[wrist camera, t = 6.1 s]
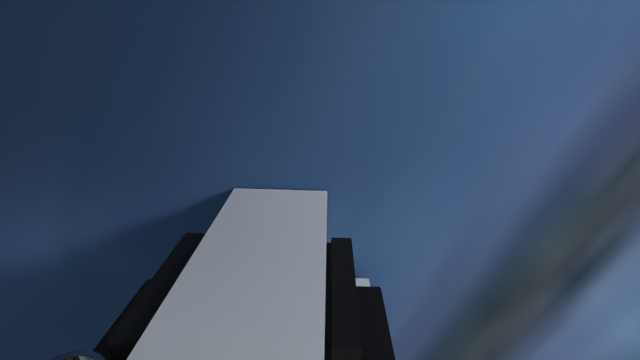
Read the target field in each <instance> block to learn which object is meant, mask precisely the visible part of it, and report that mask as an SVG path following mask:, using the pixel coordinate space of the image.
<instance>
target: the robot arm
mask: <svg viewBox="0 0 640 360" xmlns="http://www.w3.org/2000/svg"><path fill="white" fill-rule="evenodd" d="M204 236H205V234H199V233H186V234H185V235H184V236H183V237H182V239H181V240H180V241H179V243H178V244H177V245H176V247H175V248H174V250H173V251H172V252H171V254H170V255H169V256H168V258H167V259H166V260H165V262H164V263H163V264H162V266H161V267H160V268H159V270H158V271H157V272H156V274H155V275H154V276H153V278H152V279H150V280H147V281H146V282H145V283H144V284H143V285H142V287H141V288H140V289H139V291H138V292H137V293H136V295H135V296H134V297H133V299H132V300H131V301H130V303H129V304H128V305H127V307H126V308H125V309H124V310H123V312H122V313H121V314H120V316H119V317H118V318H117V320H116V321H115V322H114V324H113V325H112V326H111V328H110V329H109V330H108V332H107V333H106V334H105V335H104V337H103V338H102V339H101V341H100V342H99V343H98V345H97V346H96V347H95V349H94V350H93V351H88V350H79V351H72V352H68V353H65V354H62V355H59V356H56V357H54V358H52V359H50V360H127V358H128V356H129V355H130V353H131V352H132V350H133V349H134V347H135V345H136V344H137V342H138V341H139V339H140V337H141V336H142V334H143V333H144V331H145V329H146V328H147V326H148V325H149V323H150V322H151V320H152V318H153V317H154V315H155V314H156V312H157V310H158V309H159V307H160V306H161V304H162V302H163V301H164V299H165V298H166V296H167V295H168V293H169V291H170V290H171V288H172V287H173V285H174V283H175V282H176V280H177V279H178V277H179V275H180V274H181V272H182V271H183V269H184V268H185V266H186V264H187V263H188V261H189V260H190V258H191V256H192V255H193V253H194V252H195V250H196V249H197V247H198V245H199V244H200V242H201V241H202V239H203V237H204ZM324 360H395V356H394V351H393V346H392V341H391V336H390V331H389V327H388V322H387V317H386V312H385V307H384V302H383V297H382V292H381V288H380V287H369V286H356V279H355V270H354V260H353V250H352V241H351V238H332V239H331V243H326V293H325V348H324Z"/></svg>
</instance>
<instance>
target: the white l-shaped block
mask: <svg viewBox="0 0 640 360" xmlns="http://www.w3.org/2000/svg"><path fill="white" fill-rule="evenodd" d="M326 239H327V191H309V190H276V189H242V188H234V190H233V191H232V193H231V195H230V196H229V198H228V199H227V201H226V202H225V204H224V206H223V207H222V209H221V210H220V212H219V214H218V215H217V217H216V218H215V220H214V222H213V223H212V225H211V226H210V228H209V229H208V231H207V233H206V234H205V236H204V237H203V239H202V241H201V242H200V244H199V245H198V247H197V249H196V250H195V252H194V253H193V255H192V256H191V258H190V260H189V261H188V263H187V264H186V266H185V268H184V269H183V271H182V272H181V274H180V275H179V277H178V279H177V280H176V282H175V283H174V285H173V287H172V288H171V290H170V291H169V293H168V295H167V296H166V298H165V299H164V301H163V302H162V304H161V306H160V307H159V309H158V310H157V312H156V314H155V315H154V317H153V318H152V320H151V322H150V323H149V325H148V326H147V328H146V329H145V331H144V333H143V334H142V336H141V337H140V339H139V341H138V342H137V344H136V345H135V347H134V349H133V350H132V352H131V353H130V355H129V356H128V358H127V360H324V348H325V293H326ZM355 279H356V286H369V287H370V282H369V279H363V278H355Z"/></svg>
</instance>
